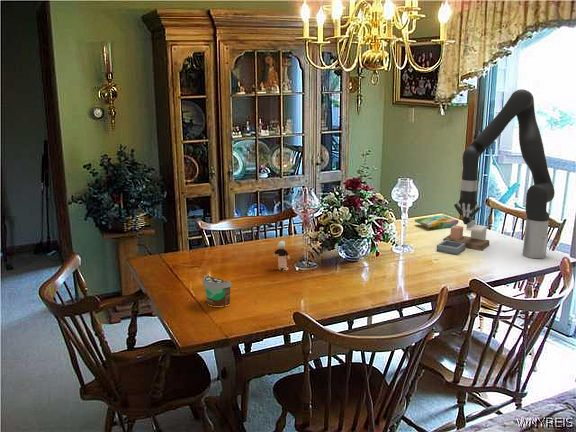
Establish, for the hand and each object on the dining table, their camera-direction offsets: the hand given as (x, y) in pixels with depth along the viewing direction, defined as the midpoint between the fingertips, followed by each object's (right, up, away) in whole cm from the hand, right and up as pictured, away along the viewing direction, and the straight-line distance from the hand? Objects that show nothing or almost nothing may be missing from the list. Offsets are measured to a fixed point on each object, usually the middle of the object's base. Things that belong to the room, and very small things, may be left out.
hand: (466, 224), depth 266 cm
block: (-3, -9, +5) cm, 11 cm away
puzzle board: (+1, -10, +2) cm, 10 cm away
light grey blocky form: (+4, -8, -1) cm, 9 cm away
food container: (-113, -29, -63) cm, 132 cm away
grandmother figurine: (-88, -19, -28) cm, 94 cm away
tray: (-9, -12, -6) cm, 16 cm away
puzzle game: (-6, -2, +34) cm, 34 cm away
